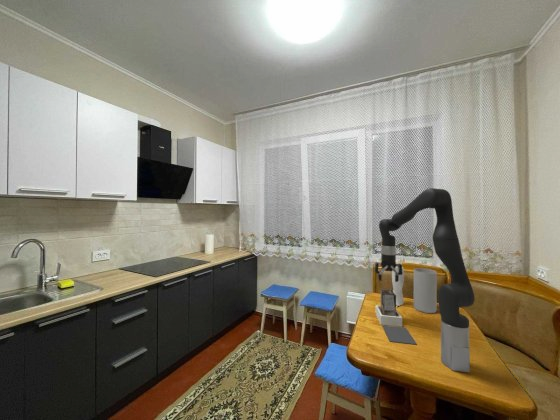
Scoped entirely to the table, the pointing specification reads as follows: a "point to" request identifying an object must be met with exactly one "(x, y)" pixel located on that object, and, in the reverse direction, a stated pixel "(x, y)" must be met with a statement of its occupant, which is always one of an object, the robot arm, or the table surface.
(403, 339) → the rubber mat
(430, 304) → the cylinder vase
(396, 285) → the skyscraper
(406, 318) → the table surface
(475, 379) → the table surface
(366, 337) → the table surface
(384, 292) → the coffee box
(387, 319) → the sleeve box
